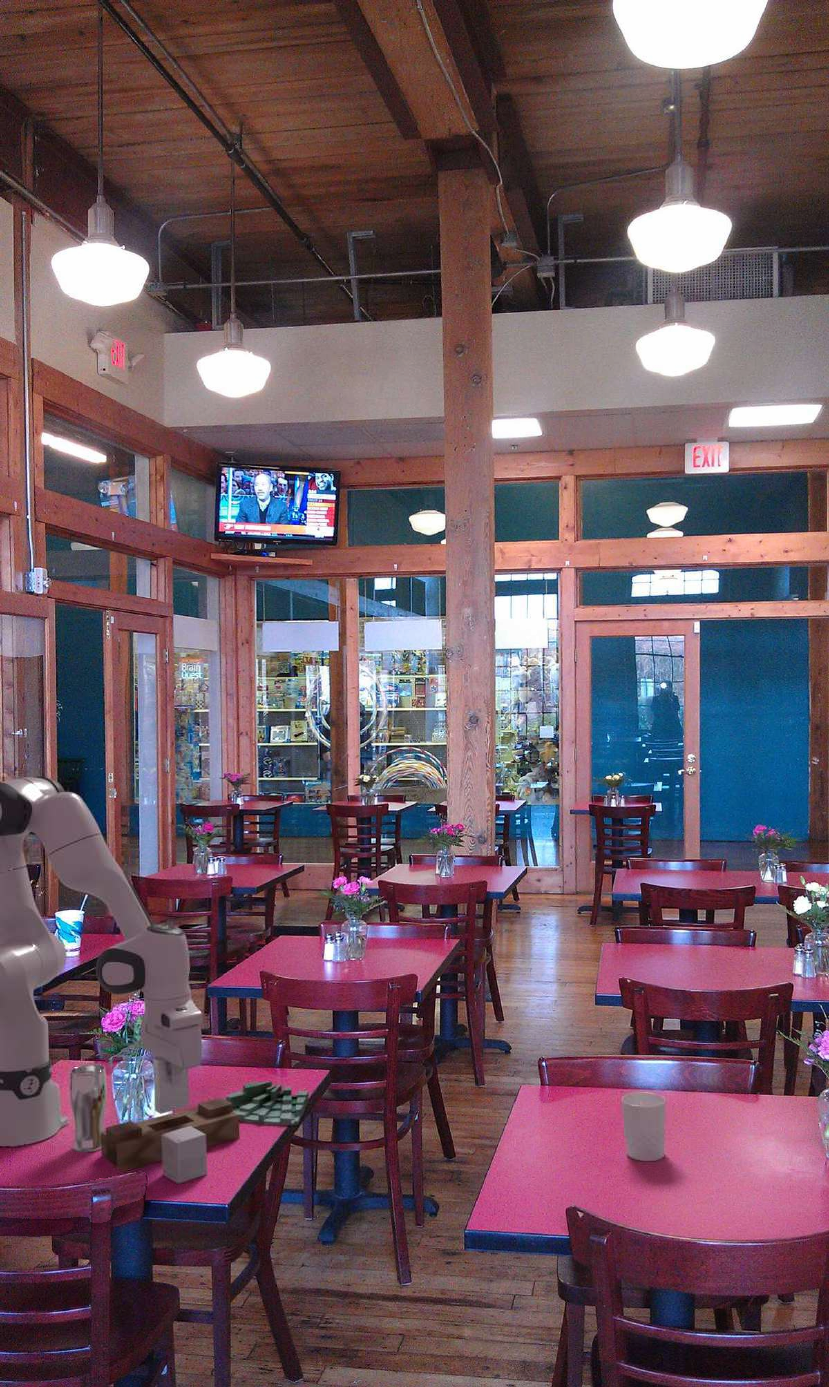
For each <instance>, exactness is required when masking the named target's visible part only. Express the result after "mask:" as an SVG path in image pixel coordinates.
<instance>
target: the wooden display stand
mask: <svg viewBox="0 0 829 1387" xmlns="http://www.w3.org/2000/svg"><path fill="white" fill-rule="evenodd" d="M188 1126H191V1127H193V1128H195V1129H197V1130H198V1131H200V1132H202V1133H204V1134H206V1149H207V1148H209V1147H213V1146H216V1145H220V1144H224V1143H227V1142H230V1141H234V1140H237V1139H240V1121H239V1115H238V1114H236V1113H234V1112H233V1104H232V1103H230V1102H228V1101H226V1099H224V1098H222V1097H218V1098H214V1099H210V1100H206V1101H202V1102H198V1104H197V1106H195V1107H190V1108H187V1109H183V1110H180V1111H176V1112H173V1113H172V1112H170V1113H168V1114H164V1115H163V1114H162V1115H160V1116H157V1117H152V1118H149V1119H145V1120H142V1121H141V1120H140V1121H137V1122H134V1121H131V1120H129V1121H125V1122H122V1123H119V1124H114V1125H113V1124H112V1125H110V1126H106V1127H105V1130H104V1131H102V1132H101V1149H100V1150H101V1157H103V1159H105V1160H106V1161H108V1162H109V1163H111V1164H112V1165H113V1166H114V1167H115V1168H117V1169H118V1170H119V1171H120V1172H122V1173H123V1172H126V1171H130V1170H134V1169H136V1168H139V1167H144V1166H147V1165H150V1164H151V1165H152V1164H154V1163H158V1162H162V1134H165V1133H168V1132H172V1131H175V1130H178V1129H181V1128H185V1127H188Z"/></svg>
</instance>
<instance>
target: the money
mask: <svg viewBox="0 0 829 1387" xmlns="http://www.w3.org/2000/svg"><path fill="white" fill-rule="evenodd" d="M282 1085H283V1084H282V1083H280V1084H278V1085H277V1084H276V1085H275V1084H274V1085H273V1081H270V1080H268V1081H262V1082H258V1081H257V1082H256V1081H252V1082H247V1083H245V1084H243V1085H242V1087H243V1088H242V1090H239V1091H237V1092H233V1093H230V1094H228V1095H225V1100H226V1101H228V1102H230V1103H232V1104H233V1112H234V1113H236V1114H238V1115H239V1120H240V1121H239V1122H242V1121H243V1123H247V1122H251V1123H250V1124H255V1123H259V1125H264V1124H268V1126H297V1125H298V1124H299V1122H300V1121H301V1118H302V1117H303V1115H304V1114H305V1111H306V1107H308V1106H309V1101H310V1100H309V1092H310V1091H309V1090H298V1091H297V1094H296V1095H295V1094H292V1091H293V1090H292V1086H284V1088H283V1090H282Z"/></svg>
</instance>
